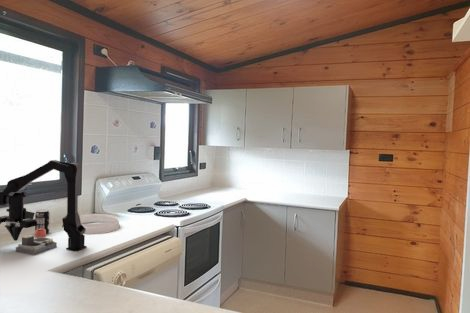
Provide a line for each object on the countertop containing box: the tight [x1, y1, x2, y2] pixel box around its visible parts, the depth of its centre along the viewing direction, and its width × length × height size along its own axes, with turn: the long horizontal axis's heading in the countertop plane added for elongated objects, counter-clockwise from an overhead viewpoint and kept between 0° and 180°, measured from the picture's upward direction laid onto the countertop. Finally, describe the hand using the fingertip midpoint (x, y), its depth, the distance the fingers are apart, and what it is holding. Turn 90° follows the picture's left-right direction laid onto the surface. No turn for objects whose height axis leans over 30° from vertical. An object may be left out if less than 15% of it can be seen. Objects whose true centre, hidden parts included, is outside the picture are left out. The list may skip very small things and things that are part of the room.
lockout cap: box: [34, 228, 47, 239], centre depth 176 cm, size 5×5×6 cm
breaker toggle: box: [21, 234, 35, 246], centre depth 162 cm, size 3×4×4 cm
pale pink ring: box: [79, 213, 120, 235], centre depth 206 cm, size 27×27×6 cm
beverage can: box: [34, 209, 50, 234], centre depth 190 cm, size 7×7×12 cm
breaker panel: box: [15, 237, 58, 256], centre depth 164 cm, size 10×13×4 cm
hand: (15, 240), depth 164 cm, fingers closed
